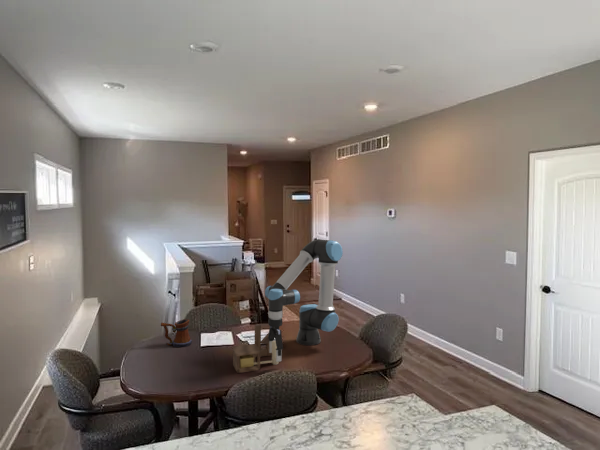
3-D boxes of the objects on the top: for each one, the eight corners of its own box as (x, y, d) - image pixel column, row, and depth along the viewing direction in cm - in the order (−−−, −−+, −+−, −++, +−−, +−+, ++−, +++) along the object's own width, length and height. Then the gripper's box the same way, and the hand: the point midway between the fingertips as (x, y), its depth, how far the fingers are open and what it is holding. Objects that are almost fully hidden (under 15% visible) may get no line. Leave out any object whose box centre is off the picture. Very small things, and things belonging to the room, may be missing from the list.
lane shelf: (255, 361, 232) (255, 343, 232) (261, 369, 221) (261, 351, 221) (231, 364, 228) (231, 346, 227) (236, 373, 217) (236, 354, 216)
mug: (160, 349, 250) (160, 324, 249) (160, 343, 261) (160, 319, 260) (192, 346, 255) (192, 321, 254) (191, 340, 266) (190, 316, 265)
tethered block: (276, 361, 234) (276, 339, 233) (280, 365, 228) (280, 343, 227) (238, 366, 226) (238, 344, 225) (240, 370, 220) (240, 347, 220)
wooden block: (273, 355, 242) (273, 324, 241) (255, 357, 238) (255, 326, 237) (271, 353, 245) (271, 322, 244) (253, 355, 242) (253, 324, 240)
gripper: (262, 312, 239) (262, 349, 240) (275, 325, 216) (275, 366, 217) (275, 311, 241) (275, 348, 243) (289, 323, 218) (289, 364, 220)
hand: (275, 356), depth 230 cm, fingers open, 12 cm apart
